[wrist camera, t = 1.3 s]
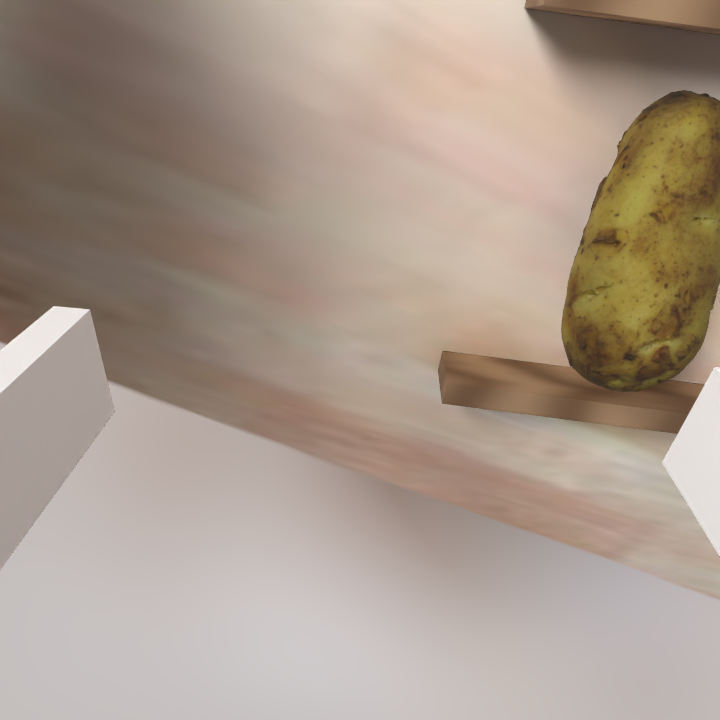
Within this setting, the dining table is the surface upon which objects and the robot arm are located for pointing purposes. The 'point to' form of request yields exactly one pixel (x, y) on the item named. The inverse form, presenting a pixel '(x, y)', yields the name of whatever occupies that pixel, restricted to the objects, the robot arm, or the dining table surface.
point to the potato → (649, 250)
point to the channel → (564, 384)
